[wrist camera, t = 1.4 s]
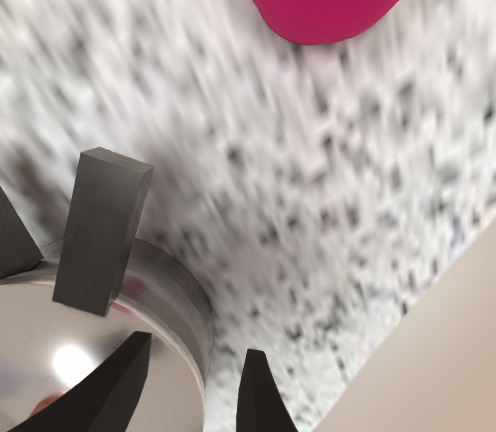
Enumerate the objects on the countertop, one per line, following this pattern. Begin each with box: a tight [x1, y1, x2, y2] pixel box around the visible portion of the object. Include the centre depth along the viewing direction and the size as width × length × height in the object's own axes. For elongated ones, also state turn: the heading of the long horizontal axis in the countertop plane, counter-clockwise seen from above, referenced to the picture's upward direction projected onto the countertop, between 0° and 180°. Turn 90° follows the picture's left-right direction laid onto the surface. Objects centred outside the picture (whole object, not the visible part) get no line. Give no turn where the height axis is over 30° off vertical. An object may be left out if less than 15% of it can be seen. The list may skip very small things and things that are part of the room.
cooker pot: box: [0, 186, 214, 388], centre depth 22 cm, size 15×24×6 cm, turn 20°
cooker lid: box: [0, 147, 206, 432], centre depth 17 cm, size 22×16×3 cm
